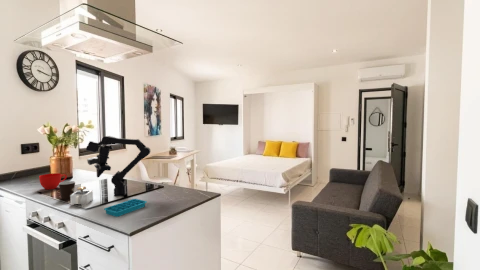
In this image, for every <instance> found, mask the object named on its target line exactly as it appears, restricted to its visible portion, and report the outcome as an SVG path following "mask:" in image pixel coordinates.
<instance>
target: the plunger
mask: <svg viewBox="0 0 480 270" xmlns="http://www.w3.org/2000/svg"><path fill="white" fill-rule="evenodd" d="M76 189H77V190H76V191H81V194H83V191H85V190H86V189H87V187H86V186H79V187H77V188H76Z"/></svg>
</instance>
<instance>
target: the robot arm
mask: <svg viewBox="0 0 480 270" xmlns="http://www.w3.org/2000/svg"><path fill="white" fill-rule="evenodd" d="M101 138H102V139H101V140H100V141H99V142H96V141H95V142H94V141H92V140H90V141H89V142H88V144H87V146H86V149H85V151H86V152H89V153H95V154H97V153H98V154H97V155H96V156H94V157H89V158H86V161H87V164H88V165H89V166H92V165H94V166H93V167H95V169H96V177H97V178H100V176H101V175H102V174H104V172H105V171H108V172H109V171H111V170H112V167H111V166H110V165H109V164H108V160H109V159H110V157H109V155H110V150H114V147H113V145H131V146H132V145H133V146H136V148H137V149H138V150H139V152H138V154H137V155H136V157H134V159H133V160H131V161H130V163H128V165H127V166H125V167H124V168H123V169H122V170H117V172H115V174H113V175H112V176H111V180H110V182H111V184H113V185H114V188H113V196H114V197H116V196H117V197H121V196H125V195H126V194H127V187H126V186H127V184H126V183H127V181H126V180H125V179H124V178H125V177H126V175H127V174H128V173H129V172H130V171H131V170H132V169H133V168H135V166H136V165H137V164H138V163H140V161H142V160H143V159H145V158H146V157H147V156H149V155H150V154H151V148H150V147H148V146H146V145H145V144H144V142H143V141H141V140H140V139H139V138H138V139H137V138H136V139H134V138H132V139H131V138H120V137H115V136H111V135H107V136H104V137H101Z"/></svg>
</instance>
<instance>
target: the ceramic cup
mask: <svg viewBox="0 0 480 270" xmlns="http://www.w3.org/2000/svg"><path fill="white" fill-rule="evenodd" d="M63 176H64V178H63V179H62V177H63ZM38 177H39V178H38V179H39V184H40V186H41V187H42V188H43V189H45V190H54V189H55V190H56V189H57V188H58V187H59V183H62V182H65V180H67V178H68V176H67V174H62V173H59V172H57V173H55V172H53V173H47V174H41V175H39V176H38Z"/></svg>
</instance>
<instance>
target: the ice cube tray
mask: <svg viewBox="0 0 480 270" xmlns="http://www.w3.org/2000/svg"><path fill="white" fill-rule="evenodd" d="M146 203H148V202H147V201H146V200H143V199H138V198H132V199H129V200H126V201H123V202H120V203H117V204H114V205H111V206H108V207H105V208H103V211H105V214H106V215H108V216H109V215H110V216H113V217H116V218H117V217H120V216H123V215H126V214H129V213H132V212H133V211H137V210H140V209H142V208H144V207H146Z"/></svg>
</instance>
